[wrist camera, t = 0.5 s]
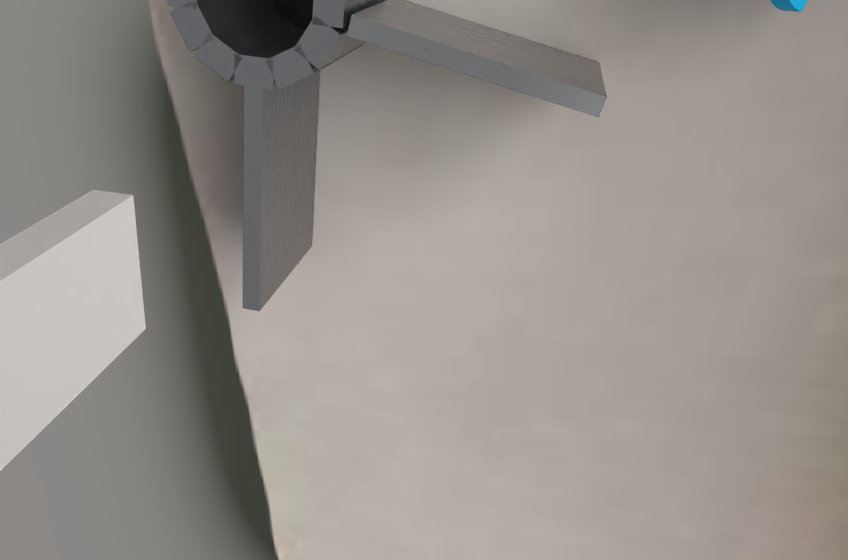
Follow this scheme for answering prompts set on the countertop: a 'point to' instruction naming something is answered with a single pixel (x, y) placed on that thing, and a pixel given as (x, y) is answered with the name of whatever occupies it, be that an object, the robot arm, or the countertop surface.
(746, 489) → the countertop surface
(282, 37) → the hinge leaf fixed
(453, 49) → the hinge leaf swing
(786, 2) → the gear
